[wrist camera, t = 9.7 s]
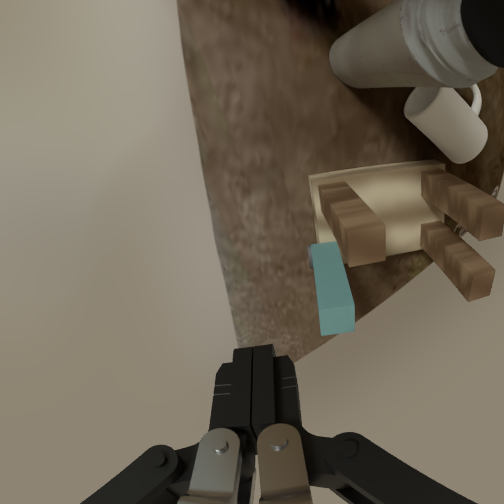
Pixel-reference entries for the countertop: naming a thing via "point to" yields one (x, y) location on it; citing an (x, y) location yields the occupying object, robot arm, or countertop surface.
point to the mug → (448, 121)
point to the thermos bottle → (423, 45)
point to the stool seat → (407, 218)
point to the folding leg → (332, 289)
